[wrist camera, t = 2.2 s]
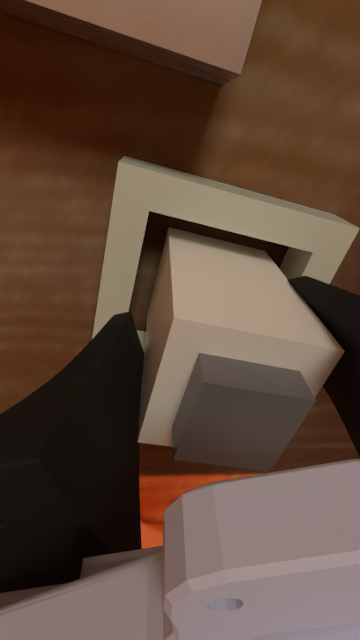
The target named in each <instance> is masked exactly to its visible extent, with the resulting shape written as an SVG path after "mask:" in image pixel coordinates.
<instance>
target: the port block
mask: <svg viewBox="0 0 360 640" xmlns="http://www.w3.org/2000/svg"><path fill="white" fill-rule="evenodd" d="M261 2H262V0H0V12H3V13H6V14H9V15H12V16H15V17H18V18H21V19H24V20H27V21H30V22H33V23H36V24H39V25H42V26H45V27H48V28H51V29H54V30H56V31H59V32H62V33H65V34H68V35H71V36H74V37H77V38H80V39H83V40H86V41H89V42H92V43H95V44H98V45H101V46H104V47H107V48H110V49H113V50H116V51H119V52H122V53H125V54H128V55H131V56H134V57H137V58H140V59H143V60H146V61H149V62H152V63H155V64H158V65H161V66H164V67H167V68H170V69H173V70H176V71H179V72H182V73H185V74H188V75H191V76H194V77H197V78H200V79H203V80H206V81H209V82H212V83H215V84H218V85H221V86H222V85H224V84H226V83H227V82H229V81H231V80H232V79H234V78H236V77H237V76H239V75H241V71H242V68H243V64H244V61H245V57H246V54H247V50H248V47H249V44H250V40H251V37H252V33H253V30H254V26H255V23H256V19H257V16H258V12H259V9H260V5H261Z"/></svg>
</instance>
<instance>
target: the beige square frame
mask: <svg viewBox="0 0 360 640" xmlns="http://www.w3.org/2000/svg"><path fill="white" fill-rule="evenodd" d="M149 211H151V212H155V213H159V214H163V215H167V216H171V217H175V218H179V219H183V220H187V221H191V222H195V223H198V224H202V225H206V226H210V227H214V228H218V229H222V230H226V231H230V232H234V233H238V234H242V235H246V236H250V237H254V238H257V239H261V240H265V241H269V242H273V243H277V244H281V245H285V246H289V248H288V250H287V252H286V255H285V257H284V259H283V261H282V264H281V266H280V268H279V269H280V270H281V272H282V273H283V274H284V275H285V277H286V278H287V279H292V278H297V277H301V276H308V277H311V278H314V279H317V280H319V281H322V282H325V283H327V284H330V282H331V280H332V278H333V277H334V275H335V273H336V271H337V269H338V267H339V266H340V264H341V262H342V260H343V258H344V256H345V255H346V253H347V251H348V249H349V247H350V245H351V244H352V242H353V240H354V238H355V236H356V234H357V233H358V231H359V229H360V228H358V227H357V226H355V225H353V224H351V223H349V222H347V221H345V220H344V219H342V218H340V217H338V216H336V215H334V214H331V213H328V212H324V211H321V210H317V209H314V208H310V207H306V206H303V205H299V204H296V203H292V202H289V201H285V200H282V199H278V198H274V197H271V196H267V195H264V194H260V193H257V192H253V191H249V190H246V189H242V188H239V187H235V186H232V185H228V184H224V183H221V182H217V181H214V180H210V179H207V178H203V177H200V176H196V175H192V174H189V173H185V172H182V171H178V170H175V169H171V168H167V167H164V166H160V165H157V164H153V163H150V162H146V161H143V160H139V159H135V158H132V157H128V156H124V157H123V158H122V159H121V160H119V161H118V168H117V174H116V181H115V188H114V195H113V201H112V208H111V215H110V222H109V228H108V235H107V242H106V249H105V255H104V262H103V269H102V276H101V282H100V289H99V296H98V303H97V310H96V316H95V323H94V330H93V337H92V339H93V338H94V337H95V336H96V335H97V333H98V332H99V331H100V330H101V329H102V328H103V326H104V325H105V324H106V323H107V322H108V321H109V320H110V319H111V317H112V316H114V315H115V314H120V313H125V312H128V311H129V306H130V301H131V297H132V292H133V287H134V282H135V277H136V272H137V268H138V263H139V258H140V253H141V248H142V243H143V238H144V234H145V229H146V224H147V219H148V214H149ZM137 333H138V336H139V339H140V342H141V345H142V348H143V351H144V349H145V335H146V332H145V331H139V330H137Z"/></svg>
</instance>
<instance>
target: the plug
mask: <svg viewBox="0 0 360 640" xmlns="http://www.w3.org/2000/svg"><path fill="white" fill-rule="evenodd" d="M344 352H345V351H344V350H343V348H342V347H341V346H340V345H339V343H338V342H337V341H336V340H335V338H334V337H333V336H332V335H331V333H330V332H329V331H328V329H327V328H326V327H325V326H324V324H323V323H322V322H321V321H320V319H319V318H318V317H317V316H316V314H315V313H314V312H313V311H312V309H311V308H310V307H309V306H308V304H307V303H306V302H305V301H304V299H303V298H302V297H301V296H300V295H299V294H298V293H297V291H296V290H295V289H294V288H293V286H292V285H291V284H290V283H289V281H288V279H287V278H286V277H285V275H284V274H283V273H282V272H281V270H280V269H279V268H278V267H277V265H276V264H275V263H274V262H273V260H272V259H271V258H270V257H269V255H268V254H267V253H266V252H265V251H263V250H259V249H255V248H251V247H247V246H243V245H239V244H235V243H231V242H227V241H223V240H219V239H215V238H211V237H207V236H203V235H199V234H195V233H191V232H187V231H183V230H179V229H175V228H171V227H168V230H167V234H166V239H165V243H164V247H163V251H162V255H161V259H160V263H159V268H158V272H157V276H156V280H155V284H154V288H153V292H152V297H151V301H150V305H149V309H148V313H147V322H146V335H145V349H144V364H143V375H142V388H141V401H140V415H139V428H138V441H137V442H139V443H146V444H154V445H162V446H170V447H173V460H178V461H186V462H194V463H203V464H211V465H219V466H228V467H236V468H244V469H252V470H261V471H269V472H270V471H271V470H272V468H273V466H274V465H275V463H276V462H277V460H278V459H279V457H280V456H281V454H282V453H283V451H284V450H285V448H286V447H287V445H288V444H289V442H290V441H291V439H292V437H293V436H294V434H295V433H296V431H297V430H298V428H299V427H300V425H301V424H302V422H303V421H304V419H305V418H306V416H307V415H308V413H309V412H310V410H311V408H312V407H313V405H314V404H315V402H316V399H315V397H316V395H317V394H318V392H319V391H320V389H321V387H322V386H323V384H324V383H325V381H326V380H327V378H328V377H329V375H330V374H331V372H332V370H333V369H334V367H335V366H336V364H337V363H338V361H339V360H340V358H341V357H342V355H343V353H344Z"/></svg>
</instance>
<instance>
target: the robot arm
mask: <svg viewBox="0 0 360 640" xmlns="http://www.w3.org/2000/svg"><path fill="white" fill-rule="evenodd" d="M288 281H289V283H290V284H291V285H292V286H293V288H294V289H295V290H296V291H297V293H298V294H299V295H300V296H301V297H302V298H303V299H304V301H305V302H306V303H307V304H308V306H309V307H310V308H311V309H312V311H313V312H314V313H315V314H316V316H317V317H318V318H319V319H320V321H321V322H322V323H323V324H324V326H325V327H326V328H327V329H328V331H329V332H330V333H331V335H332V336H333V337H334V338H335V340H336V341H337V342H338V343H339V345H340V346H341V347H342V348H343V350H344V351H345V352H344V353H343V355H342V357H341V358H340V360H339V361H338V363H337V364H336V366H335V367H334V369H333V370H332V372H331V374H330V375H329V377H328V378H327V380H326V381H325V383H324V384H323V387H324V389H325V390H326V392H327V393H328V395H329V397H330V398H331V400H332V402H333V403H334V405H335V407H336V409H337V411H338V413H339V415H340V417H341V419H342V421H343V423H344V425H345V427H346V429H347V431H348V433H349V435H350V437H351V440H352V442H353V444H354V446H355V448H356V450H357V452H358V454H359V457H360V296H359V295H356V294H353V293H351V292H348V291H345V290H343V289H340V288H337V287H335V286H332V285H330V284H327V283H325V282H322V281H319V280H317V279H314V278H311V277H308V276H301V277H297V278H292V279H288ZM143 364H144V351H143V348H142V345H141V342H140V339H139V336H138V333H137V330H136V327H135V324H134V321H133V318H132V315H131V312H125V313H120V314H115V315H114V316H112V317H111V319H110V320H109V321H108V322H107V323H106V324H105V325H104V326H103V328H102V329H101V330H100V331H99V332H98V333H97V335H96V336H95V337H94V338H93V339H92V340H91V341H90V342H89V344H88V345H87V346H86V347H85V348H84V349H83V350H82V351H81V352H80V353H79V354H78V355H77V356H76V357H75V358H74V359H73V360H72V361H71V362H70V363H69V364H68V365H67V366H66V367H65V368H64V369H62V370H61V371H60V372H59V373H58V374H57V375H55V376H54V377H53V378H52V379H51V380H49V381H48V382H47V383H46V384H44V385H43V386H41V387H40V388H39V389H37V390H36V391H35V392H33V393H32V394H30V395H29V396H28V397H26V398H25V399H23V400H22V401H21V402H19V403H17V404H16V405H14V406H13V407H11V408H10V409H8V410H7V411H5V412H3V413H1V414H0V640H360V459H350V460H344V461H338V462H332V463H326V464H320V465H314V466H308V467H302V468H296V469H290V470H284V471H278V472H272V473H266V474H260V475H254V476H248V477H242V478H236V479H230V480H224V481H218V482H212V483H209V484H206V485H203V486H200V487H197V488H194V489H191V490H188V491H186V492H184V493H183V494H182V495H181V496H180V497H179V498H178V499H177V500H176V501H175V502H173V503H172V504H171V505H170V506H169V507H168V508H167V509H166V510H165V511H164V525H163V543H164V544H163V546H158V547H152V548H146V549H142V548H141V529H140V499H139V442H137V441H138V428H139V415H140V401H141V388H142V375H143Z"/></svg>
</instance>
